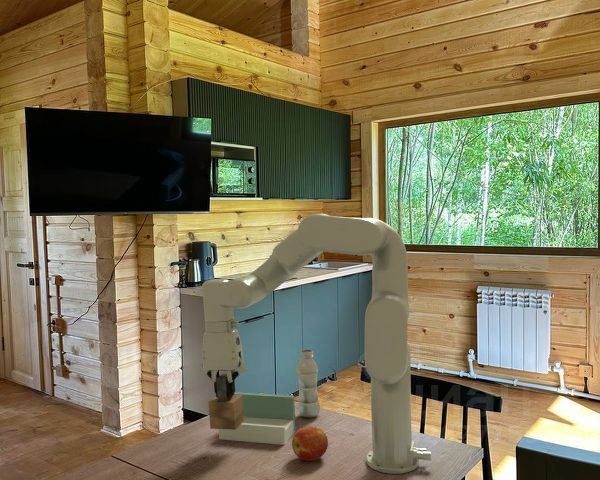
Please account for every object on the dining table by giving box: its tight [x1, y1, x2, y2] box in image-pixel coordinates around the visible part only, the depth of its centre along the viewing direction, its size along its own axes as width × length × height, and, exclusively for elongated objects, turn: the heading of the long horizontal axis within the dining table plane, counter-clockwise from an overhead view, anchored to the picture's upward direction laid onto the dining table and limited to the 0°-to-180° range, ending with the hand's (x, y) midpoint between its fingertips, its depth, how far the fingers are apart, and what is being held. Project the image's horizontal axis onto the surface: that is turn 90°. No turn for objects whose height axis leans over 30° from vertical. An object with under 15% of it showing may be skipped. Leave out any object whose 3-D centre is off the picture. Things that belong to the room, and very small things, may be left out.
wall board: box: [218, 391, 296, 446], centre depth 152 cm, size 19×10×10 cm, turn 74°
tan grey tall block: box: [207, 373, 244, 430], centre depth 143 cm, size 7×6×13 cm
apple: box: [291, 426, 329, 462], centre depth 136 cm, size 8×8×8 cm
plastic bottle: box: [296, 349, 321, 418], centre depth 165 cm, size 6×7×20 cm
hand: (225, 395), depth 143 cm, fingers closed on tan grey tall block, 2 cm apart
